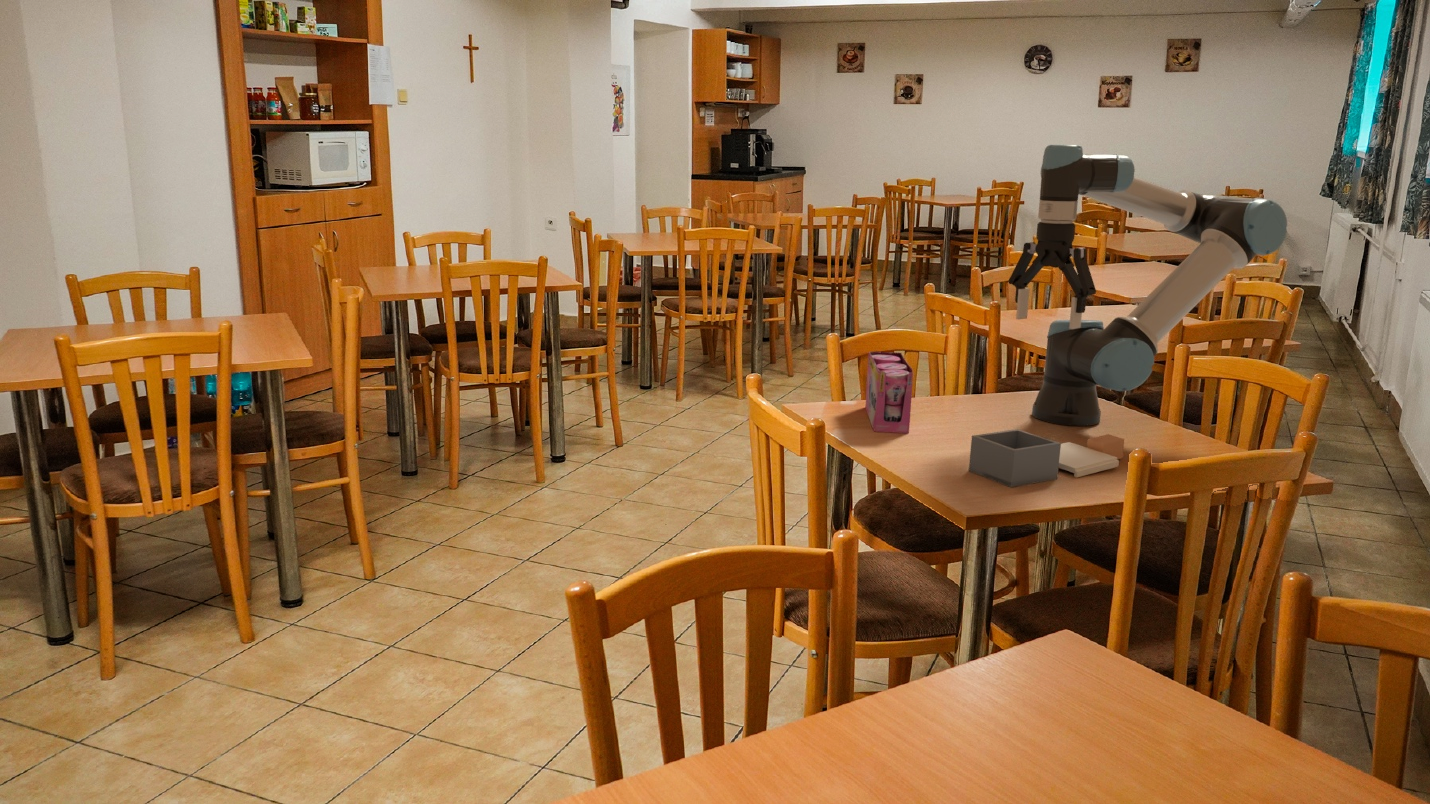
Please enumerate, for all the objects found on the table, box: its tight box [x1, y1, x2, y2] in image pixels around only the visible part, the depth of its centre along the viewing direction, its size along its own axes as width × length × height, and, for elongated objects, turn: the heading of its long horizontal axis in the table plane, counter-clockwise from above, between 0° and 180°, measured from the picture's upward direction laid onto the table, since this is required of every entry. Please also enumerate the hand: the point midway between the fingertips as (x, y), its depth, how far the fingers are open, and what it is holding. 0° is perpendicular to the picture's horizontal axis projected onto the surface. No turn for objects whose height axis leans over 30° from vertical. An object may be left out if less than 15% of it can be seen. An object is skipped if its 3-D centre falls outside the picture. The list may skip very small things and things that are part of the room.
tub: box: [968, 428, 1062, 488], centre depth 200 cm, size 12×11×7 cm
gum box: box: [865, 351, 914, 434], centre depth 237 cm, size 24×8×14 cm, turn 177°
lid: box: [1058, 433, 1125, 478], centre depth 210 cm, size 18×13×4 cm
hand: (1047, 323), depth 223 cm, fingers open, 13 cm apart
